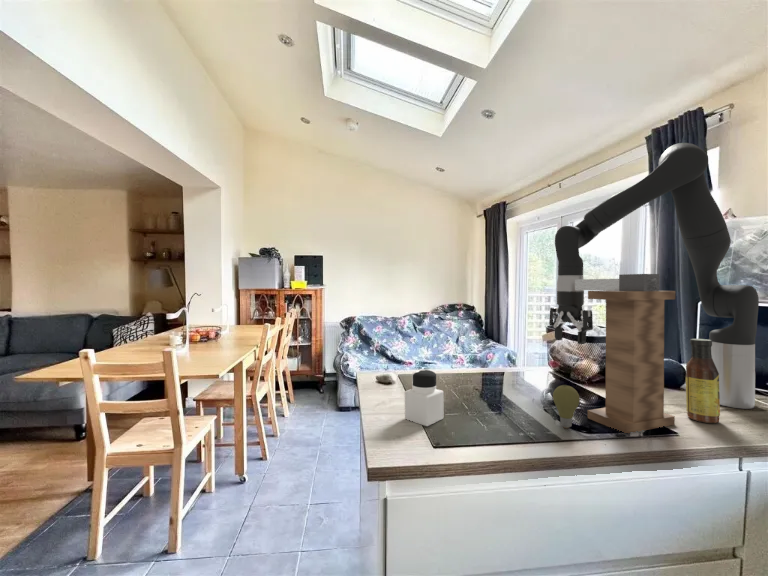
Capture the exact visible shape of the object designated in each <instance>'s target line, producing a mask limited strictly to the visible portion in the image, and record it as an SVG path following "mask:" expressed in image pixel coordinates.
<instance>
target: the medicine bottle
mask: <svg viewBox="0 0 768 576" xmlns="http://www.w3.org/2000/svg"><path fill="white" fill-rule="evenodd" d="M411 387H412V388H410V389H407V390H405V391H404V419H405V420H406V419H407V420H406V421H409V420H410V421H409V422H412V421H413V422H412V423H416V424H419V425H421V426H424V427H429V426H432V425H433V424H435V423H437V422H440V421H441V420H443V419H444V415H445V414H444V411H445V409H444V402H445V401H444V390H441V389H437V373H436V372H434V371H432V370H429V369H418V370H415V371H413V372H412V373H411Z"/></svg>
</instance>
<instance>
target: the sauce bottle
mask: <svg viewBox="0 0 768 576" xmlns="http://www.w3.org/2000/svg"><path fill="white" fill-rule="evenodd" d="M689 341H690V342H689V344H690V346H691V353H690V355H691V356H690V359H689V360H688V362H686V366H685V399H686V400H685V401H686V402H685V404H686V406H685V407H686V414H687V417H688V418H689V419H690V420H693V421H696V422H699V423H705V424H717V423H719V422H720V416H721V405H720V395H719V373H718V370H717V368H716V366H715V364H714V361H713V359H712V355H711V346H712V341H711V340H709V339H705V338H690V340H689Z"/></svg>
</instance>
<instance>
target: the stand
mask: <svg viewBox="0 0 768 576" xmlns="http://www.w3.org/2000/svg"><path fill="white" fill-rule="evenodd" d="M587 299H588V300H605V406H604V407H601V408H593V409H587V419H589V420H592V421H594V422H596V423H598V424H601V425H602V426H606V427H608V428H610V427H611V428H610V429H613V428H614V429H613V430H615V429H617V430H616V431H618V430H619V431H618V432H620V431H622V432H624V433H623V434H625V433H628V434H631V433H630V432H633V433H637V432H636V431H638V432H642V430H644V431H647V430H653V429H659V427H660V428H664V427H663V426H665V427H669V426H674V425H675V424H676V423H675V422H676V421H675V420H676V419H675V417H676V416H674V415H671V414H668V413H665V400H664V399H665V301H666V300H676V290H659V291H600V290H587ZM622 432H621V433H622Z"/></svg>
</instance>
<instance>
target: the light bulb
mask: <svg viewBox="0 0 768 576" xmlns="http://www.w3.org/2000/svg"><path fill="white" fill-rule="evenodd" d="M552 399H553V402H554V405H555V406H556V409H557V413H558V415H559V419H560V421H559V424H560V426H562V427H563V428H564V429H569V428H571V427H572V425H573V424H572V423H573V418H574V416H575V415H574V414H575V411H576V410H577V408H578V407H579V405H580V395H579V393H578V391H577V390H576V389H575V388H574V387H573V386H570V385H567V384H562V385H558V386H557V387H556V388H555V389H554V391H553V393H552Z"/></svg>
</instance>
